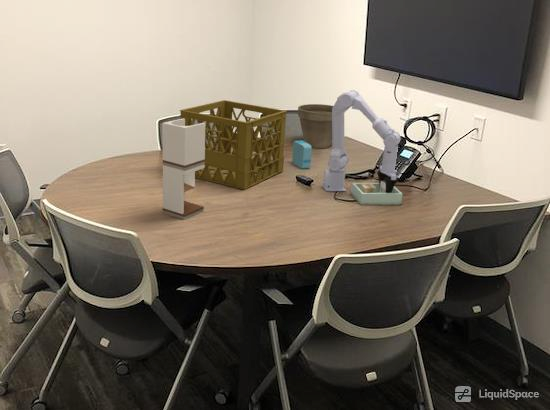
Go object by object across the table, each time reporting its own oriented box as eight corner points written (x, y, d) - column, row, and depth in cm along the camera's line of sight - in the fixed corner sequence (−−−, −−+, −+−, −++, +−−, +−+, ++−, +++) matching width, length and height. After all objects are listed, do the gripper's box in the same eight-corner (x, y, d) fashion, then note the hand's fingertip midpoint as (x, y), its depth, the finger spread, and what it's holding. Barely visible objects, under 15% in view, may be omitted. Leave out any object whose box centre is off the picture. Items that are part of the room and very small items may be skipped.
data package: (310, 169, 285) (312, 145, 281) (302, 169, 284) (303, 146, 280) (299, 162, 296) (301, 139, 291) (291, 162, 294) (293, 140, 290)
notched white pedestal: (184, 219, 214) (185, 128, 202) (163, 213, 219) (162, 122, 207) (203, 211, 223) (205, 123, 211) (182, 205, 228) (183, 118, 216)
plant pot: (292, 148, 321) (295, 109, 314) (298, 138, 344) (300, 102, 336) (336, 152, 318) (340, 114, 310) (339, 142, 341) (343, 106, 333)
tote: (360, 205, 241) (362, 193, 239) (350, 193, 254) (351, 183, 252) (401, 204, 244) (402, 193, 243) (389, 193, 257) (390, 183, 255)
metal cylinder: (381, 198, 247) (383, 183, 244) (377, 195, 251) (379, 179, 249) (392, 198, 248) (394, 183, 245) (387, 194, 252) (389, 179, 250)
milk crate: (179, 174, 265) (179, 110, 254) (222, 158, 294) (224, 100, 283) (244, 190, 249) (247, 123, 238) (283, 172, 278) (287, 110, 268)
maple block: (363, 199, 245) (365, 188, 243) (359, 195, 250) (361, 184, 248) (374, 199, 246) (376, 188, 244) (370, 195, 251) (372, 184, 249)
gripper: (404, 165, 238) (400, 196, 243) (391, 155, 251) (387, 185, 256) (388, 165, 236) (384, 196, 241) (376, 155, 250) (372, 185, 255)
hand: (385, 190), depth 248 cm, fingers open, 7 cm apart
